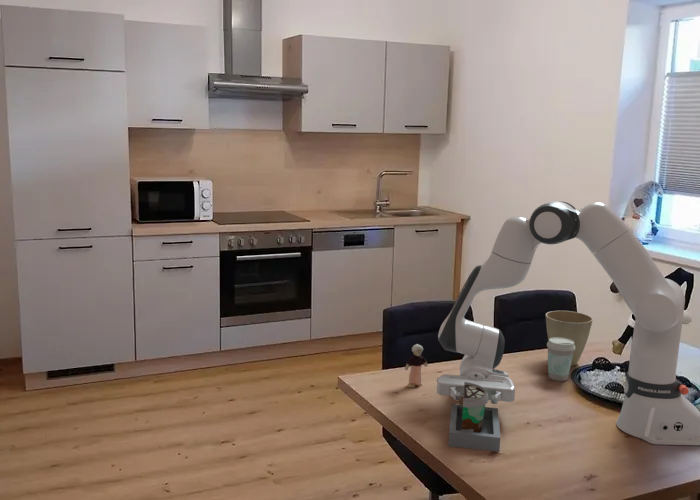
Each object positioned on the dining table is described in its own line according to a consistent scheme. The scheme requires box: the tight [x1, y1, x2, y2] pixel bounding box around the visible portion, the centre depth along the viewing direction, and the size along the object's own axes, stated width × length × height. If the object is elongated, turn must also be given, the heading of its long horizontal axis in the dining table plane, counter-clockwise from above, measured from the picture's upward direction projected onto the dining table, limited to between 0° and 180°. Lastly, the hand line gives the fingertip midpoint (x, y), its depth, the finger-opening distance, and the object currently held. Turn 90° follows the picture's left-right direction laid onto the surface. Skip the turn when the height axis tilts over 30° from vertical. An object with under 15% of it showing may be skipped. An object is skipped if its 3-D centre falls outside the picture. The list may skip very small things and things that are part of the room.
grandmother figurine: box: [404, 343, 428, 388], centre depth 202 cm, size 8×4×13 cm, turn 129°
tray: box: [448, 403, 501, 452], centre depth 171 cm, size 12×18×4 cm, turn 170°
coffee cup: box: [546, 337, 575, 382], centre depth 212 cm, size 8×8×12 cm
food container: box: [461, 382, 489, 433], centre depth 171 cm, size 12×6×10 cm, turn 170°
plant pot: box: [545, 310, 594, 367], centre depth 227 cm, size 15×15×16 cm
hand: (475, 399), depth 174 cm, fingers open, 8 cm apart
